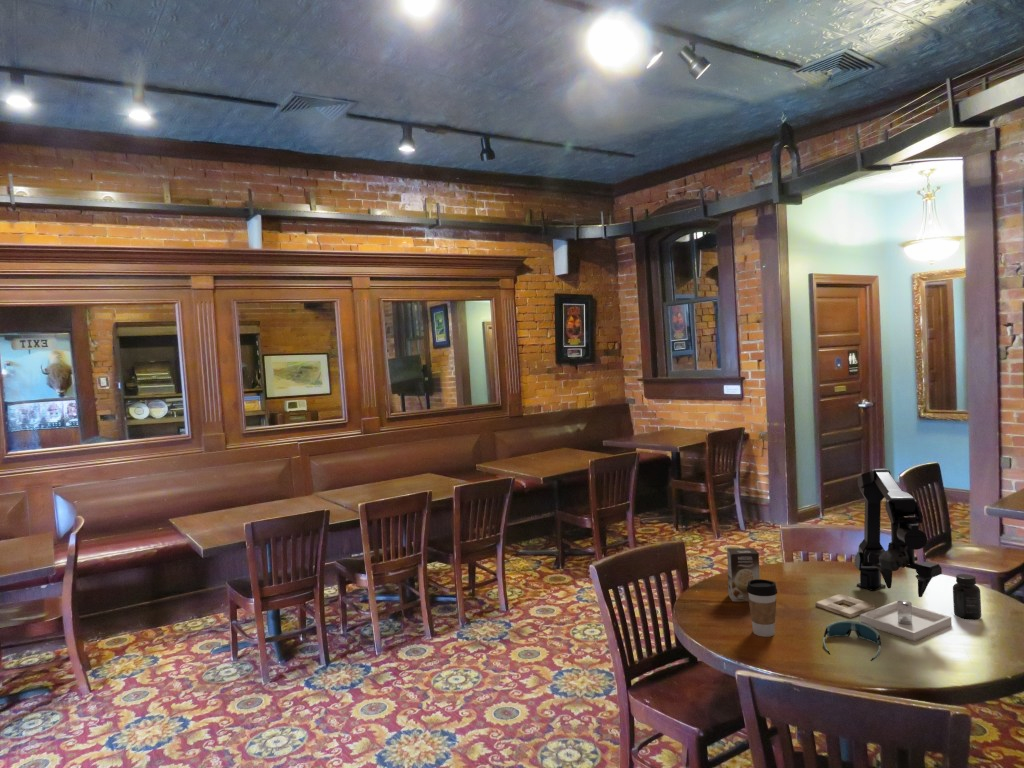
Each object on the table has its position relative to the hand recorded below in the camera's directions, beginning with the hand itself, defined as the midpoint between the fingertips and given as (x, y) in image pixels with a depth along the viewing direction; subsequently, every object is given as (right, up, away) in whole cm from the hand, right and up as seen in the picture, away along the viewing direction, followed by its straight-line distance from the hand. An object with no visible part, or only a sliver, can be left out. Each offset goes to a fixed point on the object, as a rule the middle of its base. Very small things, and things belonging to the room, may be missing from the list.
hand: (904, 592), depth 198 cm
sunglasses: (-21, -12, -11) cm, 26 cm away
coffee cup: (-40, -12, +1) cm, 42 cm away
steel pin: (+1, -9, +1) cm, 9 cm away
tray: (+1, -10, +1) cm, 10 cm away
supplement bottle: (+21, -8, +4) cm, 23 cm away
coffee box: (-37, -11, +28) cm, 48 cm away
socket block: (-10, -9, +16) cm, 21 cm away
